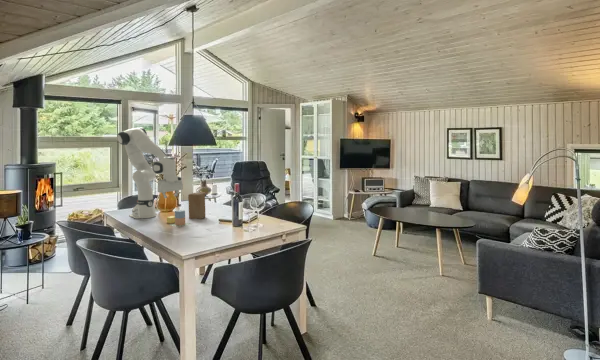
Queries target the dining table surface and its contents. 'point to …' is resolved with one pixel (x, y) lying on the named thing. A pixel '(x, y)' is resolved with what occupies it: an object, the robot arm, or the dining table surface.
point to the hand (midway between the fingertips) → (170, 197)
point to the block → (196, 205)
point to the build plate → (180, 225)
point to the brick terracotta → (179, 221)
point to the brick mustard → (171, 219)
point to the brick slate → (180, 214)
